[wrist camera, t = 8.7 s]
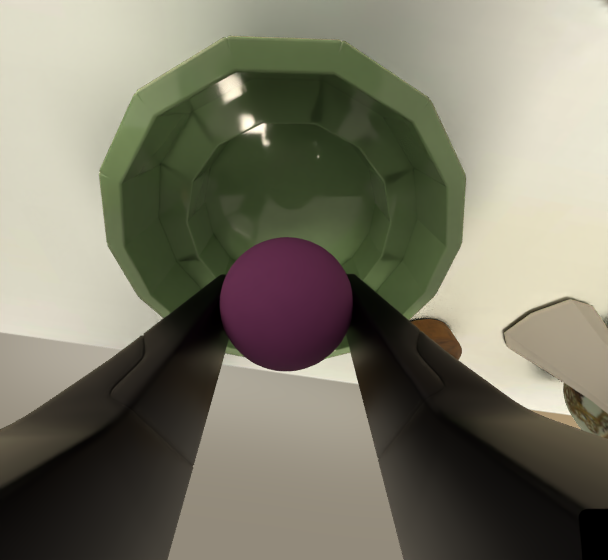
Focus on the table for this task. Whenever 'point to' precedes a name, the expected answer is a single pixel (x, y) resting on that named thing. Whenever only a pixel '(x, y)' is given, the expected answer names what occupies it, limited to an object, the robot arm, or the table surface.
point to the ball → (286, 304)
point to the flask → (567, 346)
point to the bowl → (586, 412)
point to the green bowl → (282, 171)
